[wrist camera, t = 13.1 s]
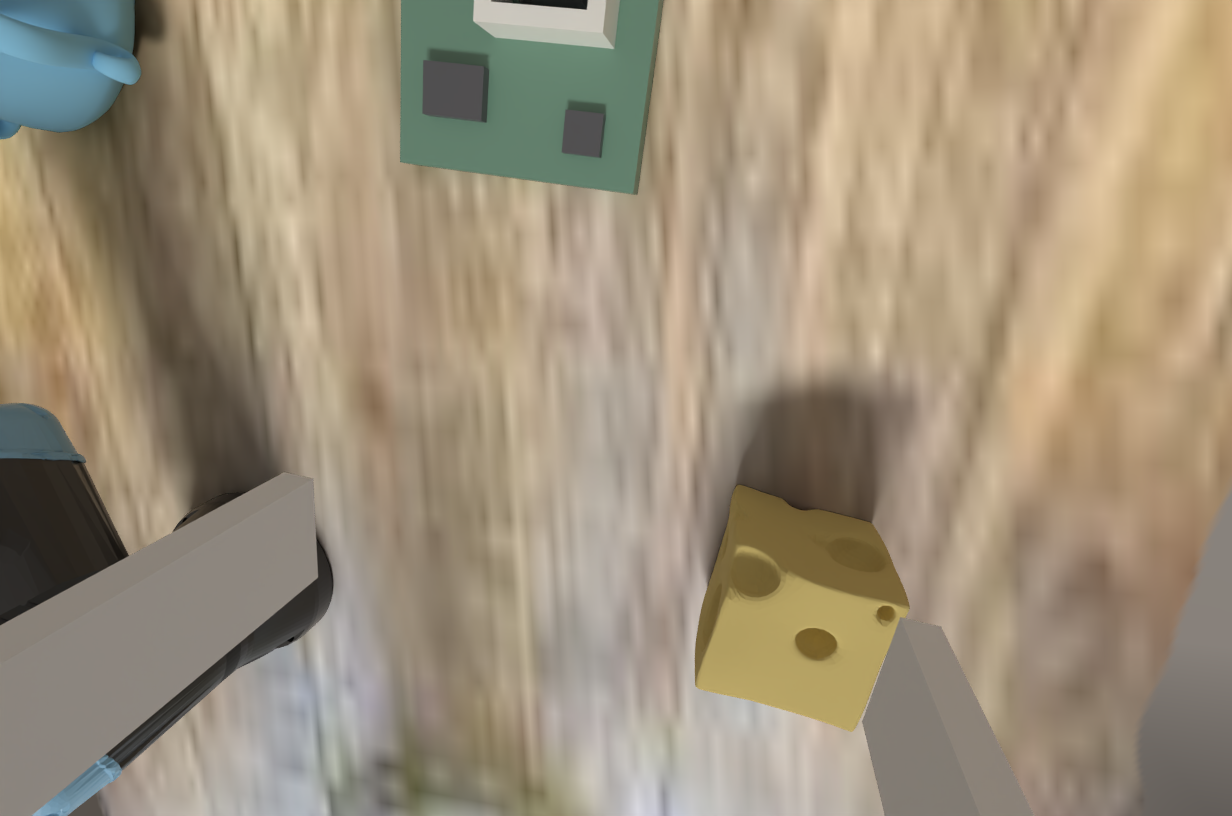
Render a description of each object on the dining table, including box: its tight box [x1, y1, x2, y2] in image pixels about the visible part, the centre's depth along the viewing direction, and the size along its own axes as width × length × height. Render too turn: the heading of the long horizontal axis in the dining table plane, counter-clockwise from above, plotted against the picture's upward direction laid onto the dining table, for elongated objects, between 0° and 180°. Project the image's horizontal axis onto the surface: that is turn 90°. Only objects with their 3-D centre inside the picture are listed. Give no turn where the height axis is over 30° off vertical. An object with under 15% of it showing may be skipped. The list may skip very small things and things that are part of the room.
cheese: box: [695, 485, 910, 732], centre depth 38 cm, size 10×11×10 cm
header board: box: [400, 0, 664, 195], centre depth 33 cm, size 16×18×4 cm
